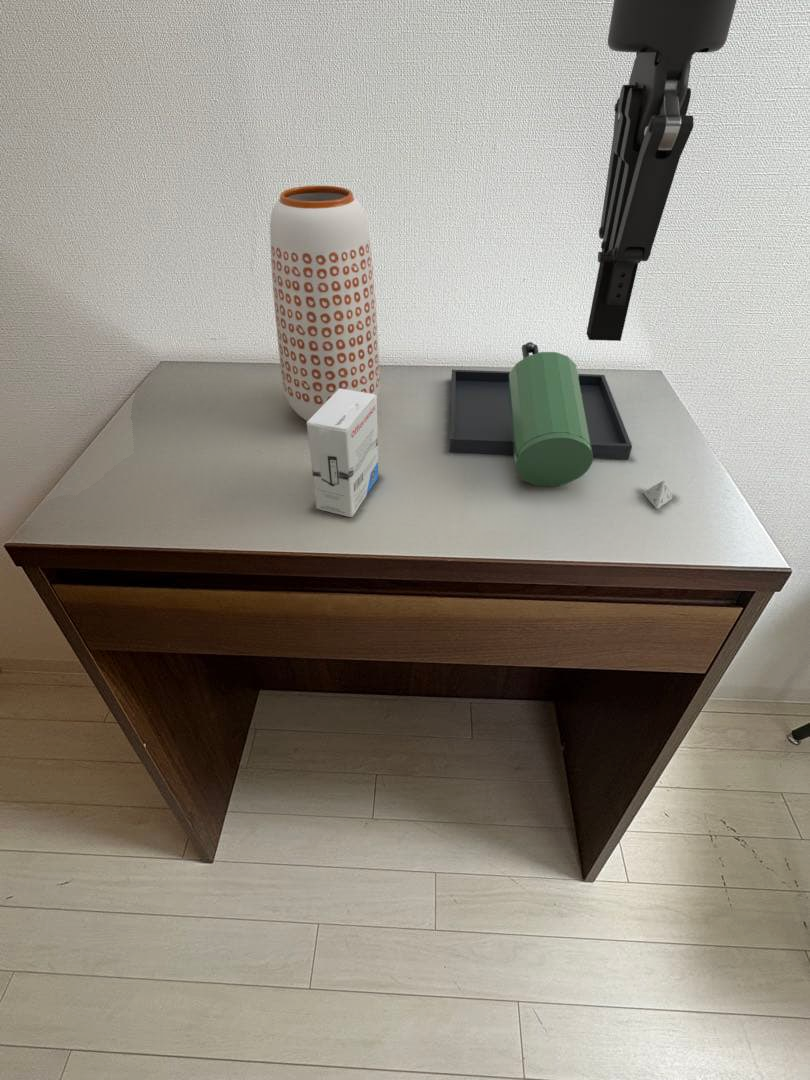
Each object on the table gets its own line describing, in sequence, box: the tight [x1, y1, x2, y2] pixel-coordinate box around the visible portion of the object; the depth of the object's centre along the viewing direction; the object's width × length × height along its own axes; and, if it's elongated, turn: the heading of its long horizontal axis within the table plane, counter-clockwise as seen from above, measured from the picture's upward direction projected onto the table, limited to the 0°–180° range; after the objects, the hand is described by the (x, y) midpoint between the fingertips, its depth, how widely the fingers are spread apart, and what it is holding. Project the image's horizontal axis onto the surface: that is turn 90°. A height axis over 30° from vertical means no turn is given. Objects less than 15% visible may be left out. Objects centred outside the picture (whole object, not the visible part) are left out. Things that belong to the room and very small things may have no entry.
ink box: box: [306, 388, 379, 518], centre depth 70 cm, size 9×5×12 cm, turn 160°
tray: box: [449, 369, 633, 460], centre depth 88 cm, size 23×20×2 cm
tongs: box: [521, 341, 540, 360], centre depth 82 cm, size 2×11×21 cm
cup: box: [507, 351, 594, 487], centre depth 75 cm, size 9×9×14 cm
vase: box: [269, 185, 381, 422], centre depth 79 cm, size 13×13×28 cm
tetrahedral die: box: [642, 480, 673, 510], centre depth 72 cm, size 4×3×3 cm
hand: (603, 336), depth 54 cm, fingers closed
